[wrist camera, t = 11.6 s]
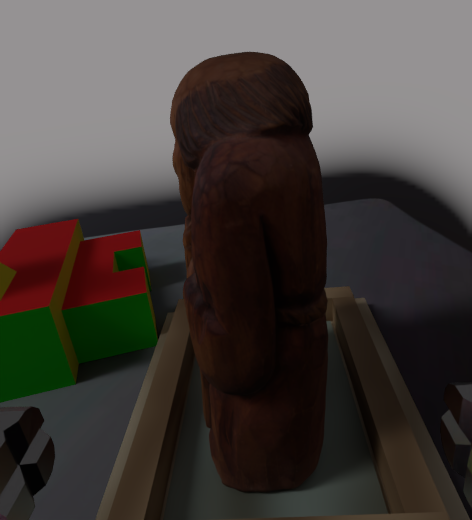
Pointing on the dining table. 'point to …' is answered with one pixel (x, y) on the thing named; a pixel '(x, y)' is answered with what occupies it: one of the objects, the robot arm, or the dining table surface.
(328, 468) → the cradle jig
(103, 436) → the dining table surface
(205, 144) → the wooden figurine
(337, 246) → the dining table surface
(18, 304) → the building blocks toy
